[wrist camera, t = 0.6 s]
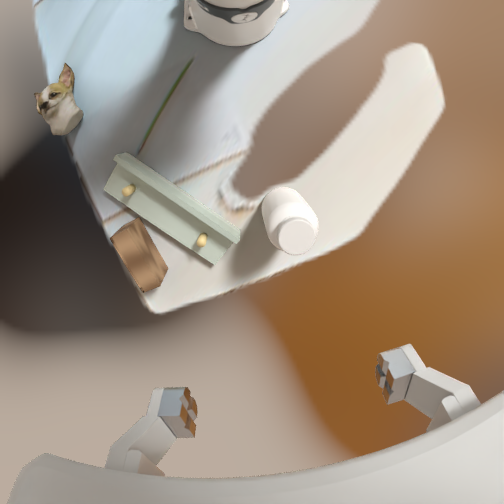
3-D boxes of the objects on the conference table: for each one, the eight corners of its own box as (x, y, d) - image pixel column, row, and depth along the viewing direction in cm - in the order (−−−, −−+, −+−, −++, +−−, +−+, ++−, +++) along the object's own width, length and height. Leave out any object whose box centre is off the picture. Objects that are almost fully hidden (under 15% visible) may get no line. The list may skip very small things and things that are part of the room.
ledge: (107, 187, 49) (95, 193, 44) (126, 152, 47) (115, 155, 42) (215, 260, 56) (213, 273, 51) (240, 229, 54) (240, 240, 49)
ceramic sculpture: (37, 152, 37) (15, 93, 32) (63, 149, 45) (40, 96, 40) (77, 114, 35) (51, 55, 30) (101, 117, 43) (75, 63, 39)
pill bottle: (265, 232, 54) (274, 269, 40) (257, 191, 51) (263, 215, 37) (306, 223, 54) (328, 257, 40) (300, 182, 50) (321, 203, 37)
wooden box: (123, 225, 52) (109, 238, 46) (139, 216, 52) (126, 229, 45) (152, 275, 57) (142, 292, 51) (168, 268, 57) (160, 286, 50)
